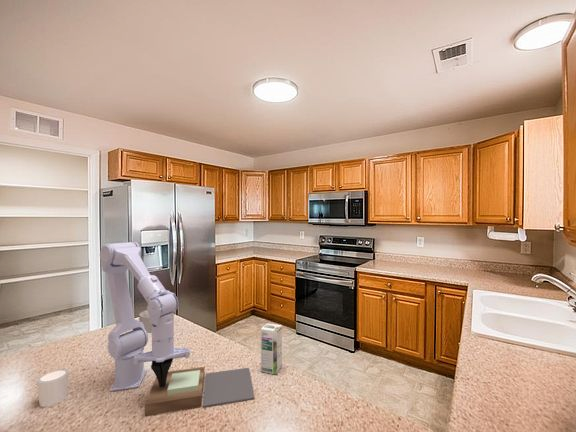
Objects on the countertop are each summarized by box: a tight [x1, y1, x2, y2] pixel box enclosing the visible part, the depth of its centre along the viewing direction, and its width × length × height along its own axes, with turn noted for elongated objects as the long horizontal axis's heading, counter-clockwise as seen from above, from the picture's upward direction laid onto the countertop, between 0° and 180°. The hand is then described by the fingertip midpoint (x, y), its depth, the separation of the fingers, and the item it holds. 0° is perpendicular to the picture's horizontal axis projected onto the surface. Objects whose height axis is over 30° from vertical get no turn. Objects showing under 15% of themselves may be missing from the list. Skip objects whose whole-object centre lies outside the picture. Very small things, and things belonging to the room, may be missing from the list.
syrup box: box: [260, 323, 283, 376], centre depth 92 cm, size 6×6×14 cm
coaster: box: [167, 370, 200, 395], centre depth 78 cm, size 8×8×2 cm
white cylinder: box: [36, 368, 70, 408], centre depth 76 cm, size 7×7×7 cm
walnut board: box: [144, 366, 205, 417], centre depth 79 cm, size 15×14×3 cm
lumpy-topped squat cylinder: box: [138, 309, 152, 334], centre depth 127 cm, size 10×13×9 cm
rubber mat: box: [202, 367, 256, 409], centre depth 82 cm, size 16×14×1 cm
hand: (162, 385), depth 77 cm, fingers closed
